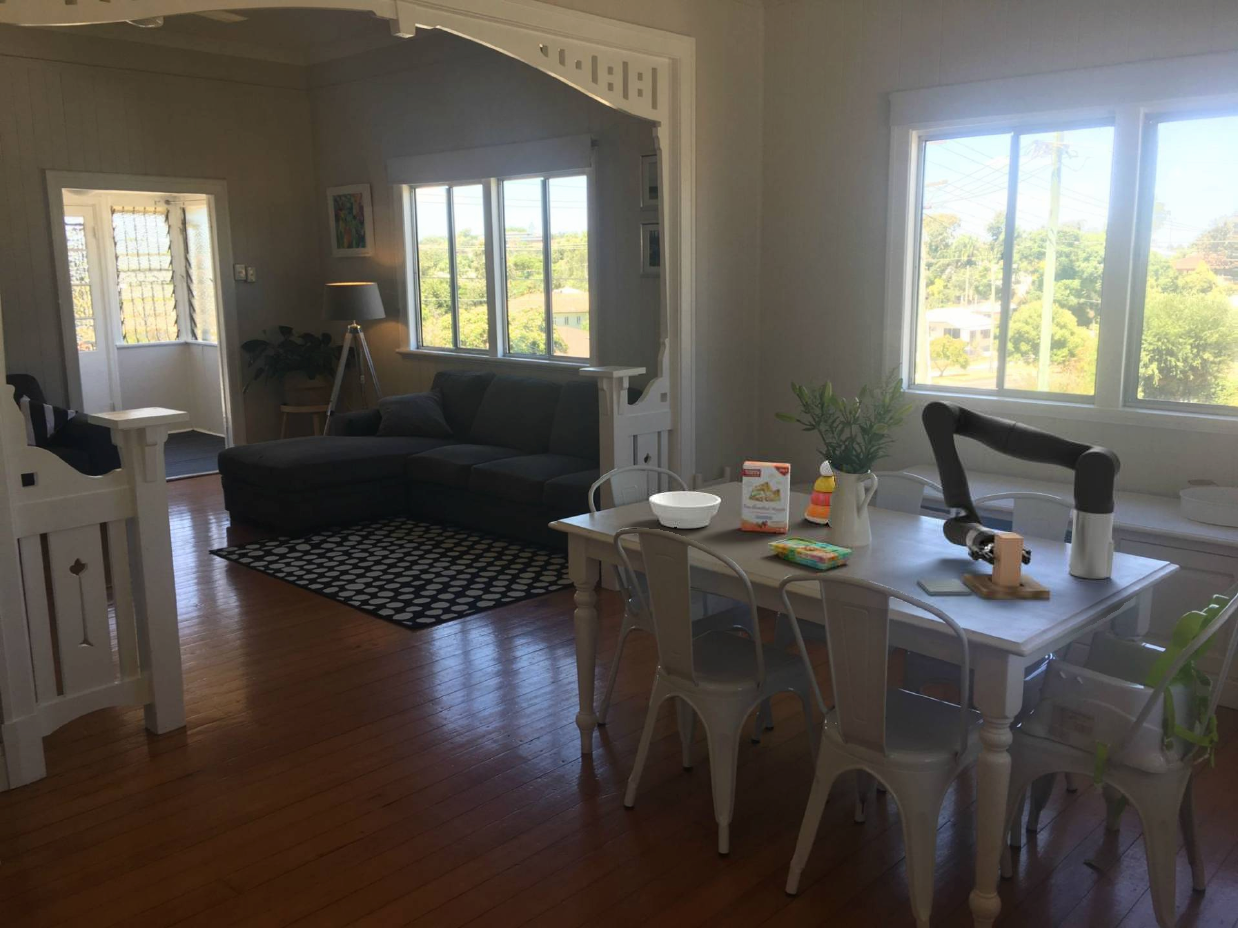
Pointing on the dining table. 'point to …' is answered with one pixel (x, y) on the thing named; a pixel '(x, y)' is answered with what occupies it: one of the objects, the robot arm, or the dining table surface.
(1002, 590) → the walnut puzzle board
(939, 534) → the dining table surface
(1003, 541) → the terracotta block
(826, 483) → the stacking toy
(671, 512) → the bowl
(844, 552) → the puzzle game
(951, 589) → the slate pad
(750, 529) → the cracker box
